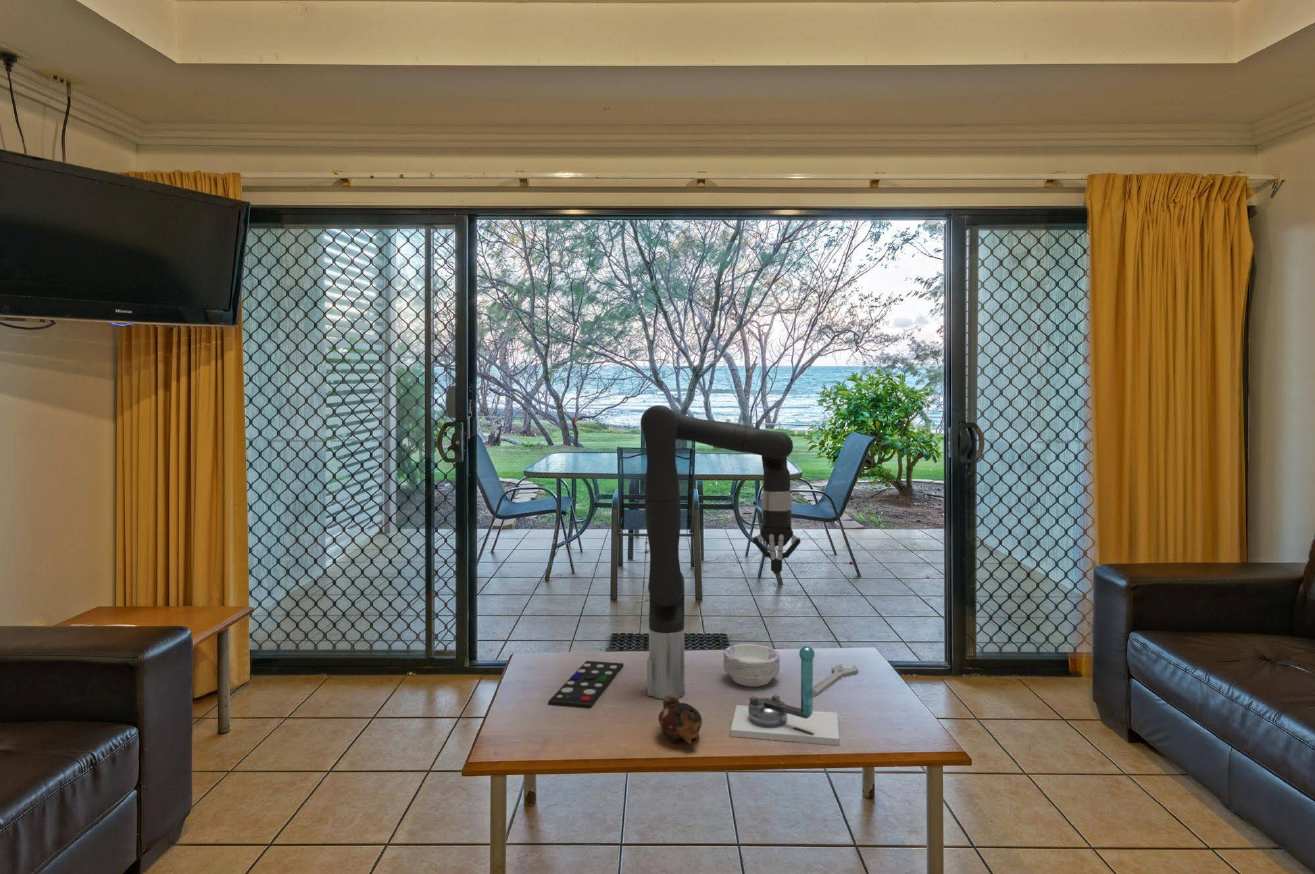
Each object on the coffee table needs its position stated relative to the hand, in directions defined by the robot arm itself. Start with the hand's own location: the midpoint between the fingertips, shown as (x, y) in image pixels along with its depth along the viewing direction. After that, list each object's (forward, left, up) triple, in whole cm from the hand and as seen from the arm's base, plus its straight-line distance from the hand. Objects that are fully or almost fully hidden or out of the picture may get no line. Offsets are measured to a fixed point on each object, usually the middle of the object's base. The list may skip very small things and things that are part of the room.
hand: (776, 573), depth 194 cm
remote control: (-50, -6, -32) cm, 60 cm away
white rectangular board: (+3, -23, -31) cm, 39 cm away
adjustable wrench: (+14, +8, -32) cm, 35 cm away
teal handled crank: (+2, -25, -29) cm, 38 cm away
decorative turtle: (-20, -33, -31) cm, 50 cm away
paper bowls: (-7, +5, -31) cm, 32 cm away
